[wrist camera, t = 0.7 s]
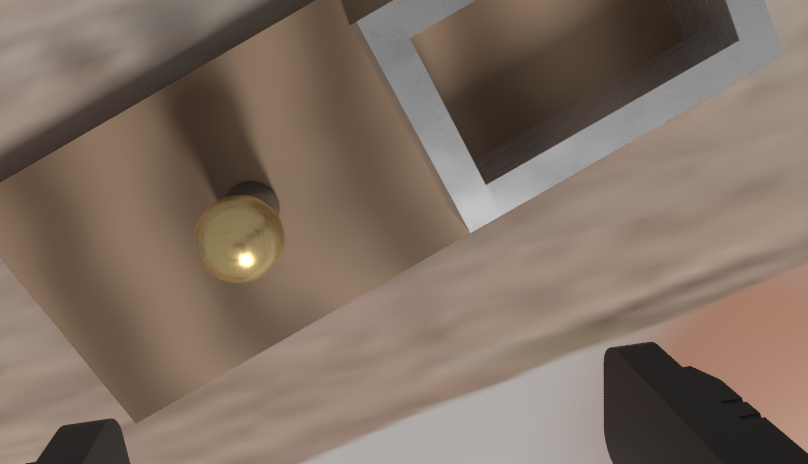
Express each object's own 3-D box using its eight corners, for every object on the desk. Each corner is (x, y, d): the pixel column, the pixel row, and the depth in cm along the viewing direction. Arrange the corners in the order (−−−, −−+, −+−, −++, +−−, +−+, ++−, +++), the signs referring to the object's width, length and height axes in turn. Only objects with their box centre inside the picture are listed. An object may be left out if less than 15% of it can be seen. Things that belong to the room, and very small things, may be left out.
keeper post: (263, 157, 27) (250, 188, 21) (303, 220, 28) (300, 267, 22) (198, 195, 28) (167, 236, 21) (240, 256, 28) (221, 312, 22)
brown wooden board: (631, -181, 27) (645, -191, 26) (724, 77, 31) (740, 78, 29) (-27, 199, 27) (-42, 206, 26) (142, 409, 31) (135, 423, 30)
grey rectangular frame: (648, -147, 26) (704, -180, 22) (720, 54, 29) (782, 55, 25) (349, 25, 27) (356, 21, 23) (449, 209, 29) (470, 233, 25)
